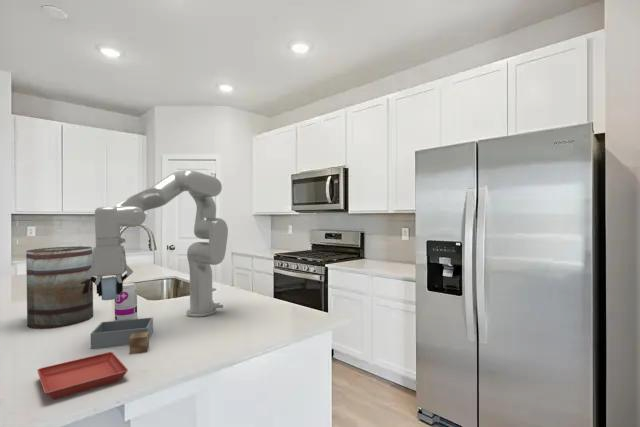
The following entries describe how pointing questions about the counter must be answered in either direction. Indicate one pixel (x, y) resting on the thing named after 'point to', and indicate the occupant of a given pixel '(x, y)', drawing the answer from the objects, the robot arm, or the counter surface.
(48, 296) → the barrel
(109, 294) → the blue cylinder
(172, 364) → the counter surface
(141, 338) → the walnut cube
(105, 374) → the plant saucer
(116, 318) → the supplement can
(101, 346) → the tote
